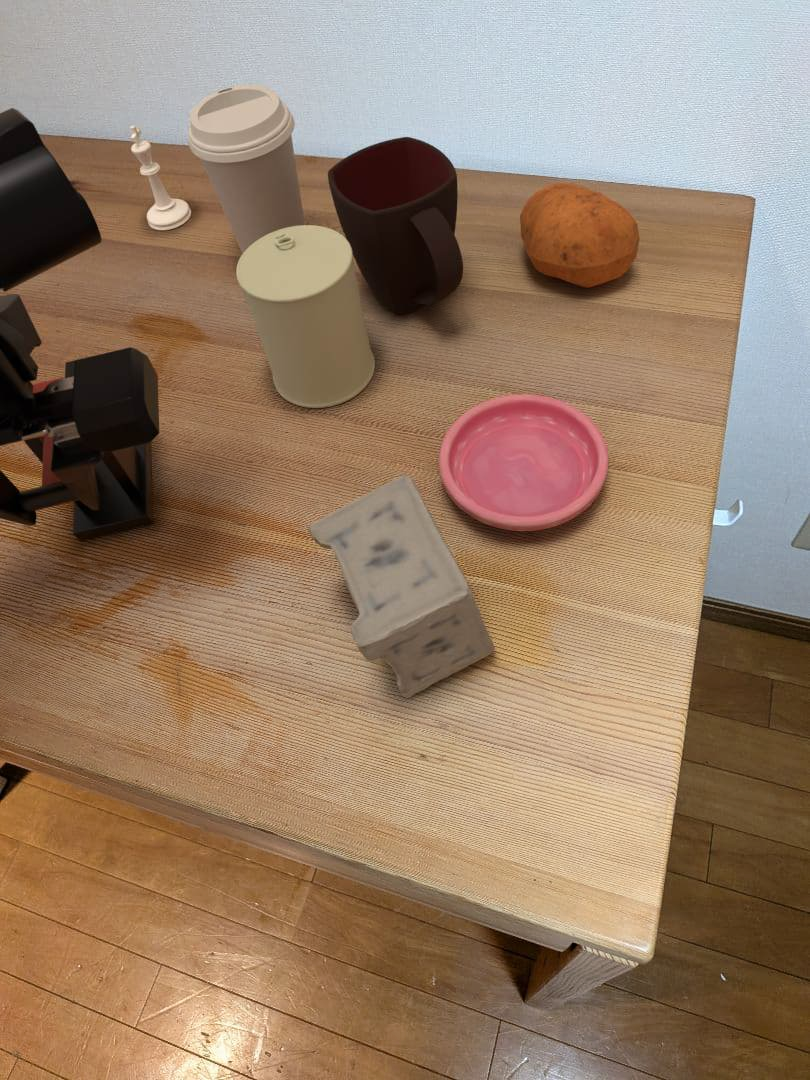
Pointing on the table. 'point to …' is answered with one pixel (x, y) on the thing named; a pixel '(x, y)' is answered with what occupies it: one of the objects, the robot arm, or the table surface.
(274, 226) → the coffee cup
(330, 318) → the can
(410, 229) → the mug
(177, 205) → the chess piece
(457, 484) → the saucer
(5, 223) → the robot arm
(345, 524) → the incense holder
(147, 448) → the bracket
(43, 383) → the lever
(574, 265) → the potato
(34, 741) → the table surface
